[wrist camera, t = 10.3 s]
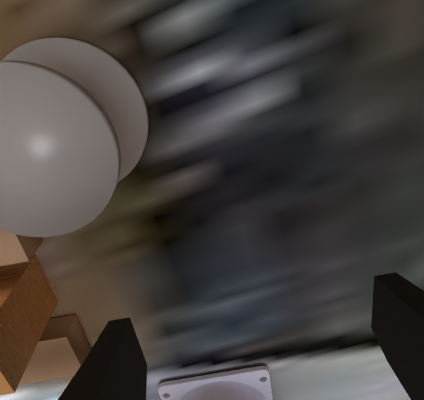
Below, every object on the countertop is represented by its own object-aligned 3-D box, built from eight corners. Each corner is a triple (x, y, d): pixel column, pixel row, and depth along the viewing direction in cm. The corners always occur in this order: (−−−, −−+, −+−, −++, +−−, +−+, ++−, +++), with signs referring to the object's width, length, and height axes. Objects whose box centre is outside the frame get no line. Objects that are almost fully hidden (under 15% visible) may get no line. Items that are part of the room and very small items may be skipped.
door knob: (163, 173, 18) (154, 231, 13) (31, 196, 18) (-29, 262, 13) (126, 23, 15) (95, 23, 10) (-33, 53, 15) (-144, 67, 10)
